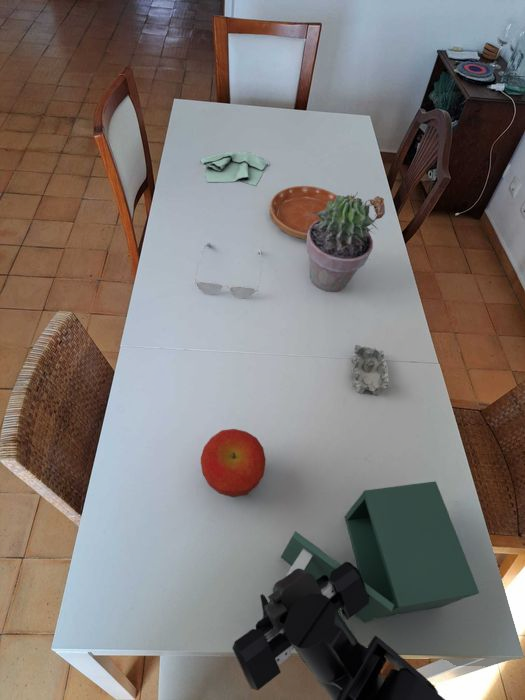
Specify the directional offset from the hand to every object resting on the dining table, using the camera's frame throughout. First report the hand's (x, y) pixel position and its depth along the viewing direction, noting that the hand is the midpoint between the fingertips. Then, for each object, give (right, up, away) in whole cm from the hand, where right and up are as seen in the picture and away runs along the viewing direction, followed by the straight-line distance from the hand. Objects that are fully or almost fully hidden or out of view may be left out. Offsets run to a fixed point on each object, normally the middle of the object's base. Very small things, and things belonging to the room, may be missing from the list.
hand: (275, 587), depth 66 cm
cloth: (-11, +92, +76) cm, 120 cm away
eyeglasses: (-10, +55, +49) cm, 74 cm away
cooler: (+20, -1, +10) cm, 22 cm away
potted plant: (+14, +53, +50) cm, 75 cm away
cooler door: (+6, -6, +5) cm, 9 cm away
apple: (-8, +11, +16) cm, 21 cm away
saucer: (+11, +72, +65) cm, 98 cm away
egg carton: (+21, +29, +33) cm, 49 cm away
